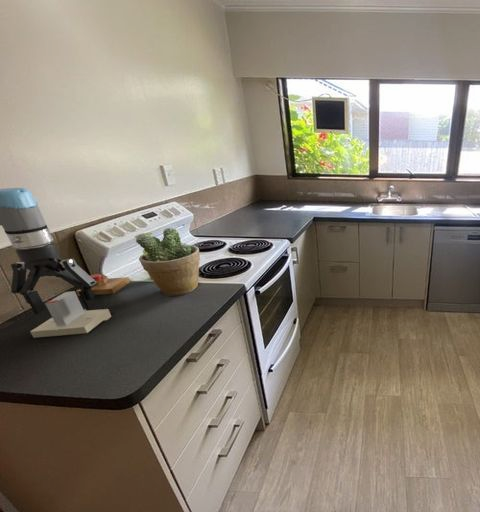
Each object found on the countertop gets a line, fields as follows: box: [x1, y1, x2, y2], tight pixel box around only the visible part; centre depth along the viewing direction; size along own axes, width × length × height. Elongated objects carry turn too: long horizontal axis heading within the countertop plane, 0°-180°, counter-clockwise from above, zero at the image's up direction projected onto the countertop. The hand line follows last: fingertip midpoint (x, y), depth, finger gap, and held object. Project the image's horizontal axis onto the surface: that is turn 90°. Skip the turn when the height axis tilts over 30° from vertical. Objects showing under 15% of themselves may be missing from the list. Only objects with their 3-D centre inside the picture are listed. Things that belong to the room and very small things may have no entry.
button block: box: [75, 274, 131, 297], centre depth 113 cm, size 12×10×4 cm
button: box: [89, 273, 102, 281], centre depth 113 cm, size 4×4×2 cm
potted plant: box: [135, 227, 201, 297], centre depth 109 cm, size 18×19×25 cm
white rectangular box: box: [44, 290, 85, 326], centre depth 88 cm, size 7×2×8 cm, turn 9°
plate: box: [29, 308, 112, 339], centre depth 90 cm, size 14×11×3 cm
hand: (66, 309), depth 88 cm, fingers open, 13 cm apart
